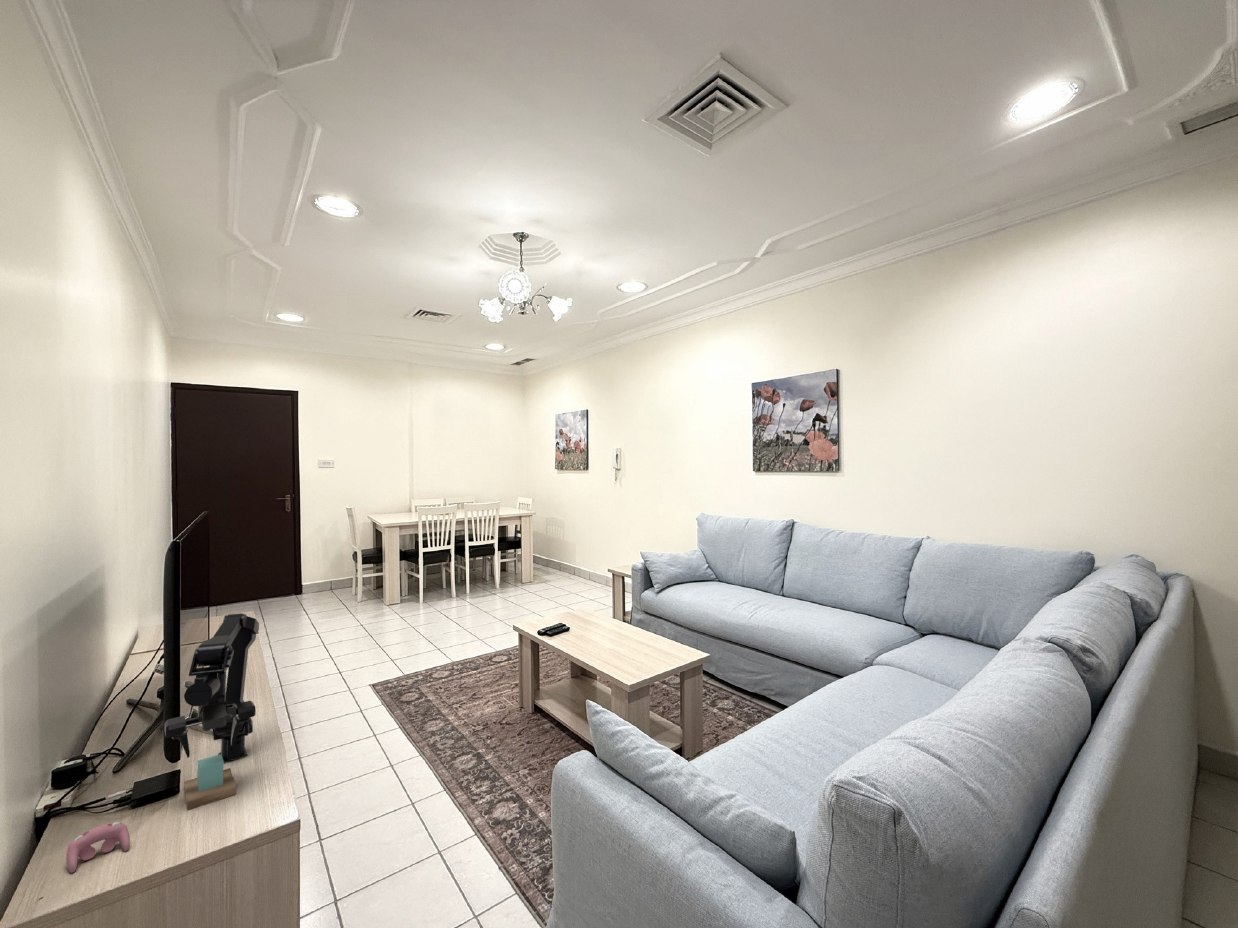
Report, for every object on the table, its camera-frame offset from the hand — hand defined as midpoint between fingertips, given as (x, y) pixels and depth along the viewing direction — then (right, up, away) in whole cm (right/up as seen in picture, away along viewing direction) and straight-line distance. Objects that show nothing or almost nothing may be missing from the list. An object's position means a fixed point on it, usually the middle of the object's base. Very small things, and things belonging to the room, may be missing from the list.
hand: (210, 750), depth 140 cm
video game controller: (-6, -10, -24) cm, 27 cm away
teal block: (0, -9, 0) cm, 9 cm away
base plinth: (0, -11, 0) cm, 11 cm away
